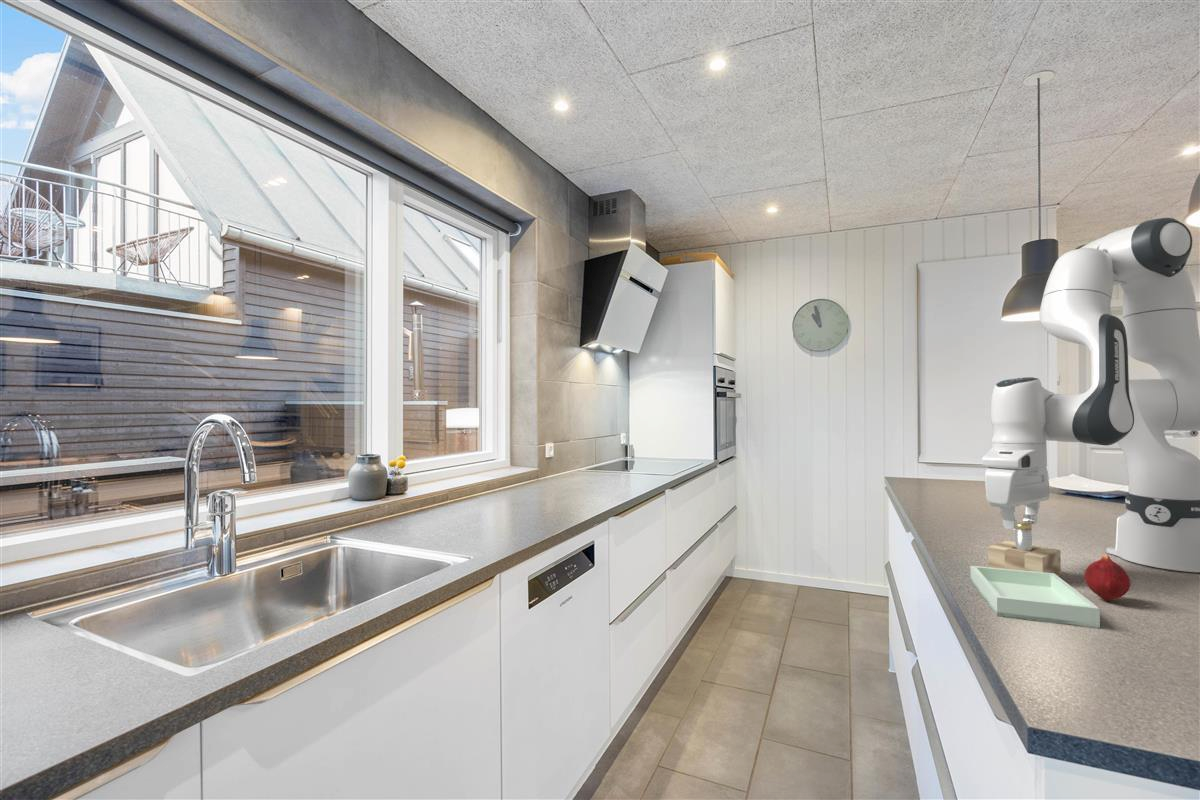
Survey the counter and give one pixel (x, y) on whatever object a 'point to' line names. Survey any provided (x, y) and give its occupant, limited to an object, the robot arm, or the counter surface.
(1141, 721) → the counter surface
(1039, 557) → the hitch block
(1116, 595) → the onion
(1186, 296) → the robot arm
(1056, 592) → the tray
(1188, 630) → the counter surface
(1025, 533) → the steel pin
